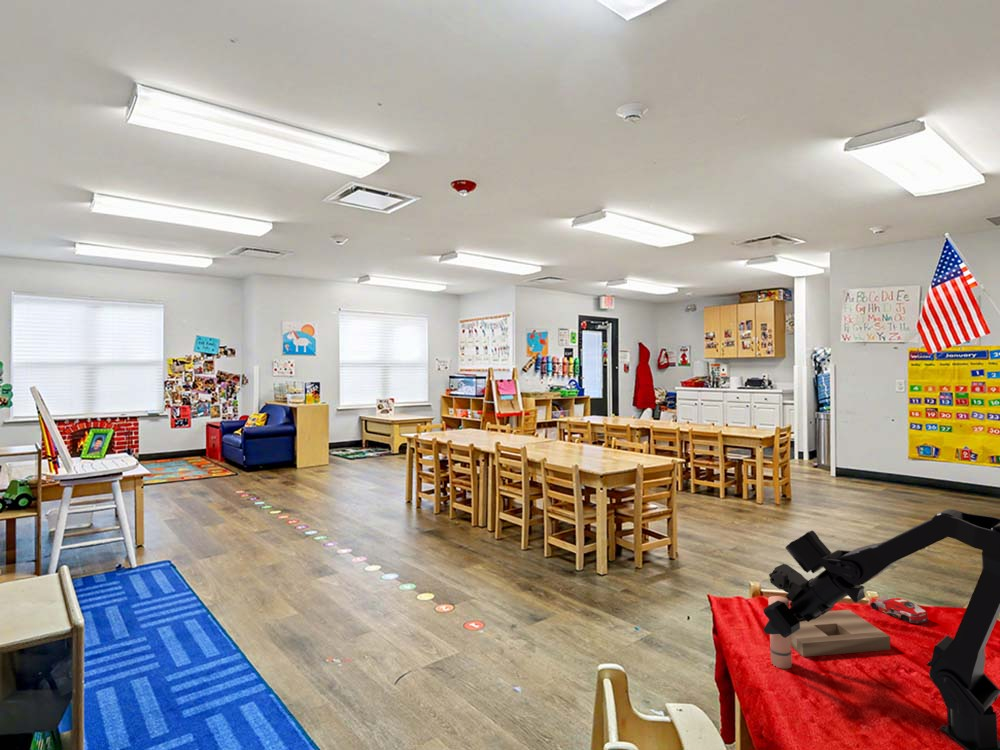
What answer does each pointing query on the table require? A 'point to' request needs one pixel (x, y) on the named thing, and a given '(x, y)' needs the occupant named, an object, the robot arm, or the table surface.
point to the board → (838, 635)
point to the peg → (780, 642)
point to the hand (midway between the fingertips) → (773, 626)
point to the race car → (899, 609)
